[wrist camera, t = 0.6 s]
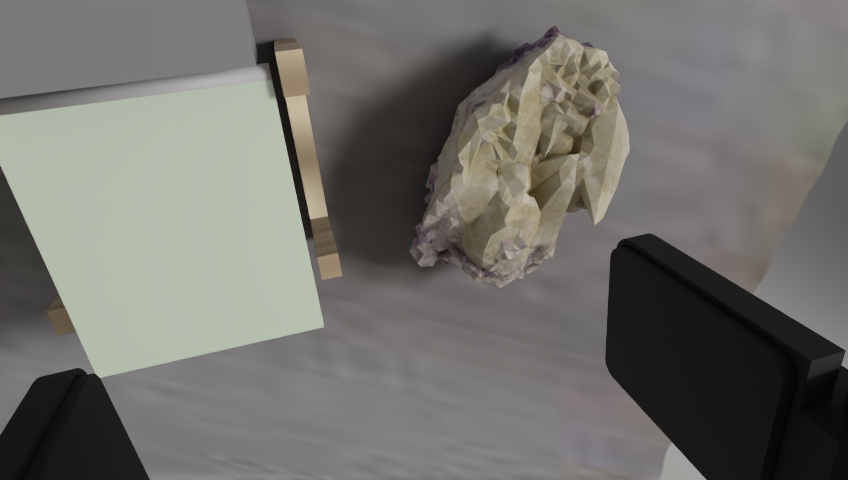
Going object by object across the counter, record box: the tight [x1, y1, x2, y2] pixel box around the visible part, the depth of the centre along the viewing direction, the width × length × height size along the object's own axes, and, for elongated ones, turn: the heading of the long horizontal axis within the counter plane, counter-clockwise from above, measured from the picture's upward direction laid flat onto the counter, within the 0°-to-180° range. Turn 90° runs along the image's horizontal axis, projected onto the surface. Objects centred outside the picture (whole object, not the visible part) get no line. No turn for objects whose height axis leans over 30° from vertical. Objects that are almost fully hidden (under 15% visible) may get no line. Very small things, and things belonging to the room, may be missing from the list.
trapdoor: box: [0, 0, 324, 378], centre depth 25 cm, size 20×12×5 cm, turn 6°
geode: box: [410, 26, 629, 288], centre depth 35 cm, size 17×9×15 cm
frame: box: [46, 38, 342, 335], centre depth 29 cm, size 13×15×9 cm
